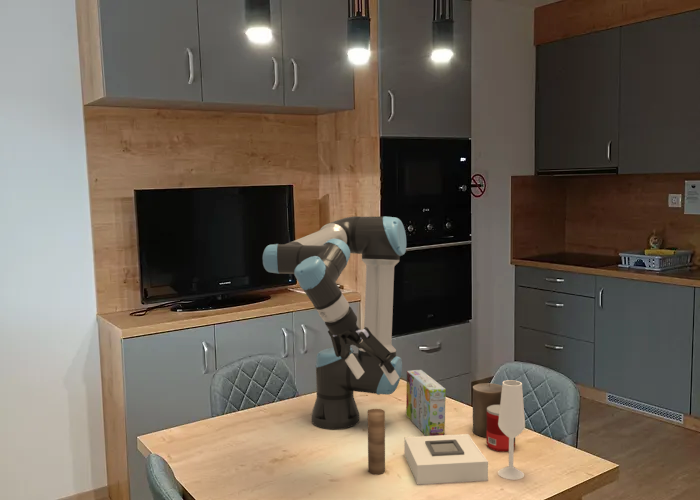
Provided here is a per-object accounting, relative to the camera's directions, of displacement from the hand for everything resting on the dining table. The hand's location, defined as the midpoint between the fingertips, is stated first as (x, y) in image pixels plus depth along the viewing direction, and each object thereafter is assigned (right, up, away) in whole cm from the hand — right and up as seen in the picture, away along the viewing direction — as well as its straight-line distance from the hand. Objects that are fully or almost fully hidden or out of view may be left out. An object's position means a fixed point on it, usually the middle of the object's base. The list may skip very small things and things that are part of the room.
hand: (377, 378), depth 168 cm
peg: (0, -25, +3) cm, 25 cm away
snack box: (+16, -22, +34) cm, 43 cm away
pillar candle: (+35, -22, +28) cm, 50 cm away
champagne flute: (+34, -25, 0) cm, 42 cm away
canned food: (+36, -23, +18) cm, 46 cm away
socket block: (+18, -24, +5) cm, 31 cm away
